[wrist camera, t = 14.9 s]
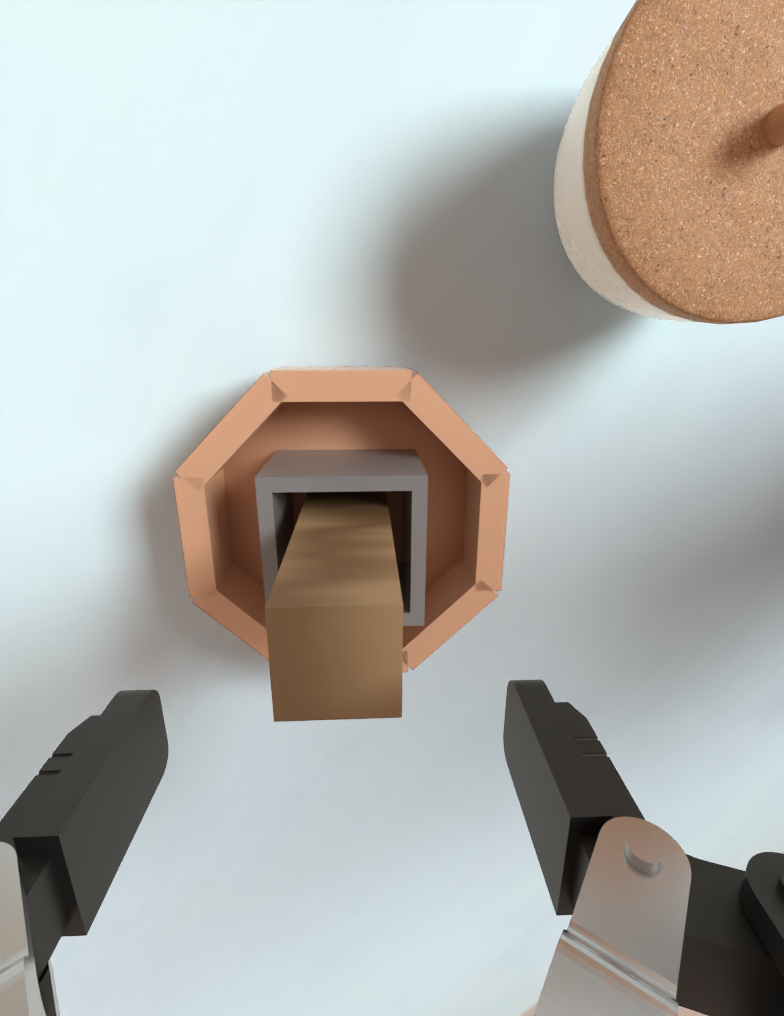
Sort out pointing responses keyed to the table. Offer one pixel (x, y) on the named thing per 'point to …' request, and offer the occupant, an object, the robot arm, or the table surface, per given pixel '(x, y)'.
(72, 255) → the table surface
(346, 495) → the brown long rectangular block
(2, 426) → the table surface
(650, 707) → the table surface
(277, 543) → the candle pot
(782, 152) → the lidded jar
